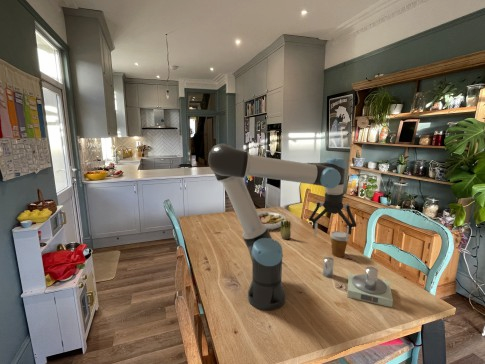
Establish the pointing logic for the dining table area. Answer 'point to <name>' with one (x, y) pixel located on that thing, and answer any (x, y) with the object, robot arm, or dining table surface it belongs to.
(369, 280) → the cylinder
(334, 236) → the disposable coffee cup
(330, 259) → the spacer
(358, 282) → the kitchen scale
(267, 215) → the bowl
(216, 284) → the dining table surface
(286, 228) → the asparagus bundle
